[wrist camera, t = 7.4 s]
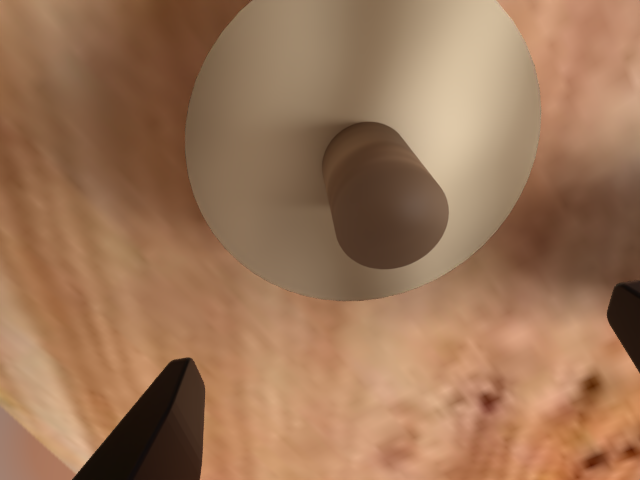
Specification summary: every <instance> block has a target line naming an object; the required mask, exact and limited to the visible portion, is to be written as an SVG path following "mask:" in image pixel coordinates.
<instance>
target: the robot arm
mask: <svg viewBox="0 0 640 480" xmlns="http://www.w3.org/2000/svg"><path fill="white" fill-rule="evenodd" d="M607 318H608V322H609V324H610V326H611V327H612V329H613V331H614V332H615V334H616V335H617V337H618V339H619V340H620V342H621V344H622V345H623V347H624V348H625V350H626V352H627V353H628V355H629V356H630V358H631V360H632V361H633V363H634V365H635V366H636V368H637V369H638V371H639V373H640V281H638V280H634V281H628V282H623V283H619V284H617V285H616V286H615V287H614V289H613V292H612V296H611V299H610V303H609V306H608V310H607ZM204 407H205V386H204V382H203V380H202V378H201V375H200V373H199V371H198V369H197V367H196V365H195V362H194V361H193V359H192V358H188V357H187V358H181V359H176V360H172V361H171V362H170V363H169V364H168V365H167V366H166V367H165V368H164V370H163V371H162V372H161V373H160V374H159V376H158V377H157V378H156V379H155V380H154V382H153V383H152V384H151V385H150V386H149V388H148V389H147V390H146V391H145V392H144V394H143V395H142V396H141V397H140V399H139V400H138V401H137V402H136V403H135V405H134V406H133V407H132V408H131V409H130V411H129V412H128V413H127V414H126V415H125V417H124V418H123V419H122V420H121V421H120V423H119V424H118V425H117V426H116V427H115V429H114V430H113V431H112V432H111V433H110V435H109V436H108V437H107V438H106V439H105V441H104V442H103V443H102V444H101V445H100V447H99V448H98V449H97V450H96V451H95V453H94V454H93V455H92V456H91V458H90V459H89V460H88V461H87V462H86V464H85V465H84V466H83V467H82V468H81V470H80V471H79V472H78V473H77V474H76V476H75V477H74V478H73V479H72V480H200V474H201V466H202V453H203V431H204Z"/></svg>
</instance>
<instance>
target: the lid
mask: <svg viewBox="0 0 640 480" xmlns="http://www.w3.org/2000/svg"><path fill="white" fill-rule="evenodd" d="M540 124H541V101H540V88H539V84H538V79H537V74H536V70H535V65H534V63H533V60H532V58H531V55H530V52H529V50H528V47H527V45H526V42H525V40H524V39H523V37H522V35H521V34H520V32H519V30H518V28H517V27H516V25H515V23H514V21H513V20H512V19H511V18H510V17H509V15H508V14H507V13H506V12H505V10H504V9H503V8H502V7H501V6H500V4H499V3H498V2H497V1H496V0H252V1H251V2H250V3H249V4H248V5H246V6H245V7H244V8H243V9H242V10H241V11H240V12H239V13H238V14H237V15H236V16H235V18H234V19H233V20H232V21H231V22H230V23H229V24H228V26H227V27H226V28H225V29H224V30H223V31H222V33H221V34H220V36H219V37H218V39H217V41H216V42H215V44H214V45H213V47H212V48H211V50H210V51H209V53H208V55H207V56H206V59H205V61H204V63H203V65H202V67H201V70H200V72H199V74H198V76H197V78H196V81H195V85H194V88H193V91H192V95H191V98H190V102H189V106H188V112H187V119H186V126H185V156H186V163H187V171H188V177H189V180H190V184H191V187H192V191H193V194H194V197H195V200H196V202H197V204H198V207H199V209H200V211H201V213H202V216H203V217H204V219H205V221H206V222H207V224H208V226H209V227H210V229H211V231H212V232H213V234H214V235H215V236H216V237H217V239H218V240H219V241H220V242H221V244H222V245H223V246H224V247H225V249H226V250H227V251H228V252H229V253H230V254H231V255H233V256H234V257H235V258H236V259H237V260H238V261H239V262H240V263H241V264H242V265H244V266H245V267H246V268H248V269H249V270H250V271H252V272H253V273H254V274H256V275H258V276H260V277H261V278H263V279H265V280H266V281H268V282H270V283H272V284H274V285H276V286H279V287H281V288H283V289H286V290H288V291H291V292H294V293H298V294H301V295H304V296H308V297H313V298H319V299H324V300H336V301H363V300H371V299H379V298H384V297H388V296H393V295H397V294H400V293H403V292H406V291H409V290H412V289H415V288H418V287H420V286H422V285H425V284H427V283H429V282H431V281H434V280H435V279H437V278H439V277H441V276H443V275H444V274H446V273H448V272H450V271H451V270H453V269H454V268H456V267H457V266H458V265H460V264H461V263H463V262H464V261H465V260H467V259H468V258H469V257H470V256H472V255H473V254H474V253H475V252H476V251H477V250H478V249H480V248H481V247H482V246H483V245H484V244H485V243H486V242H487V241H488V240H489V238H490V237H491V236H492V235H493V234H494V233H495V232H496V231H497V230H498V228H499V227H500V226H501V224H502V223H503V222H504V221H505V219H506V218H507V217H508V215H509V214H510V212H511V210H512V209H513V207H514V205H515V204H516V202H517V200H518V199H519V197H520V195H521V193H522V191H523V189H524V186H525V184H526V182H527V180H528V178H529V175H530V172H531V169H532V166H533V163H534V160H535V157H536V152H537V146H538V141H539V136H540Z"/></svg>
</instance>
